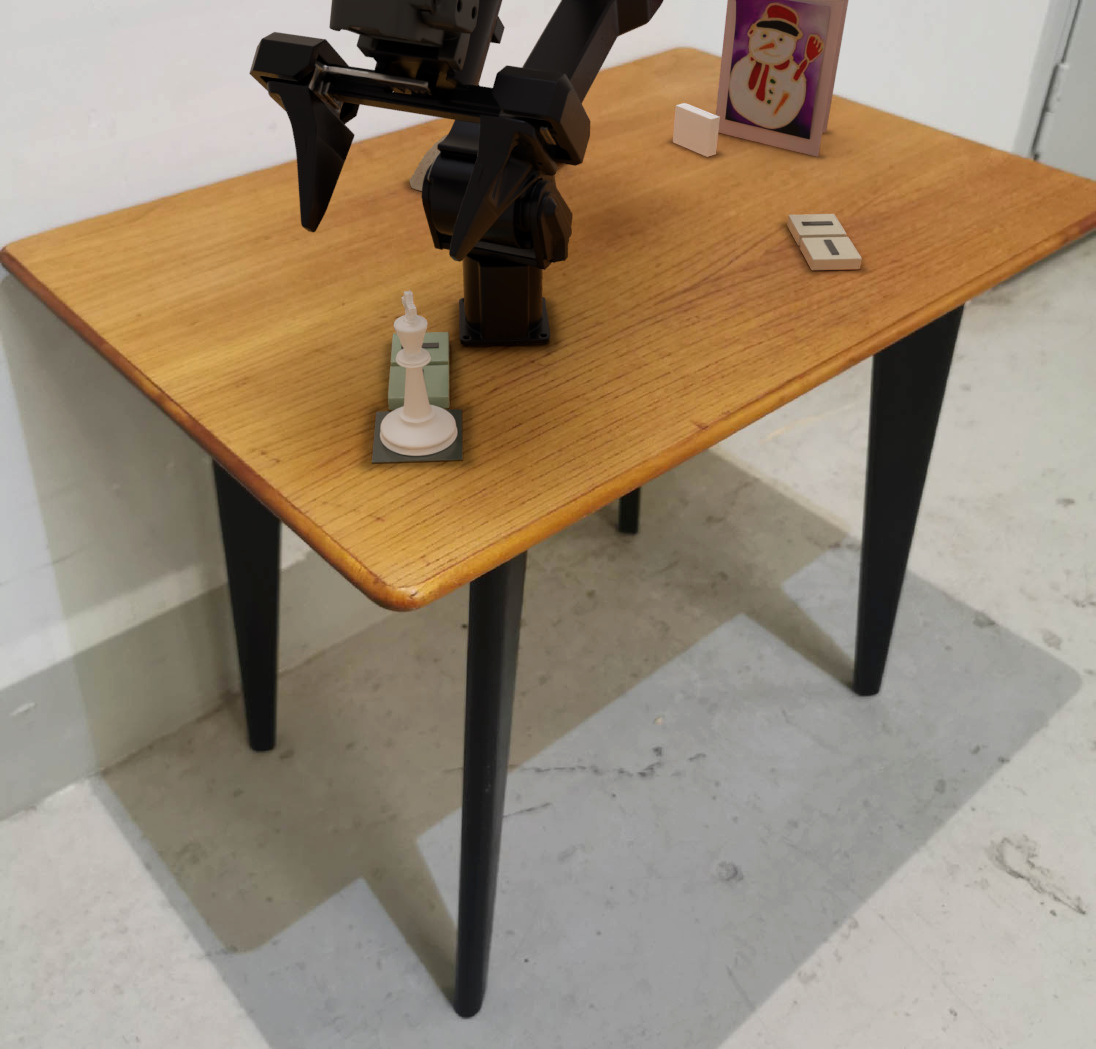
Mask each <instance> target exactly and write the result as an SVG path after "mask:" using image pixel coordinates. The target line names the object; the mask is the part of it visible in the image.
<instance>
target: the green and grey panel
mask: <svg viewBox="0 0 1096 1049" xmlns="http://www.w3.org/2000/svg"><path fill="white" fill-rule="evenodd" d="M421 348H423V349H426V350H427V351H428V352H429V354H430V356H431V360H430V362H429V363H428V364H427V365H425V366H423V367H422V370H423V376H424V382H425V387H426V391H427V396H428V400H429V404H430V405H434V406H438V407H440V408H443V409H445V410H446V411H448V412H449V413H450V414H451V415H452V416H453V417H454V419H455V422H456V427H457V437H456V439H455V441H454V442H453V443H452V444H451V445H450V446H449V447H447V448H446V449H444V450H442V451H440V452H437V453H434V454H430V455H424V456H408V455H402V454H399V453H396V452H393V451H391V450H390V449H388V448H387V447H386V446H384V444H383V443H382V441H381V439H380V431H381V430H380V427H381V423H382V421H383V419H384V418H385V416H386V415H388V414H389V413H390V412H392V411H393V410H395V409H397V408H400V407H403V406H404V397H405V381H406V368H405V367H402V366H400V365H398V364H397V362H396V355H397V353H398V352H399V351H400V350H402V349H404V348H403V346H402V344H401V342H400V339H399V337H398V335H397V333H396V332H393V333H392V338H391V349H390V350H391V352H390V366H389V374H388V375H389V376H388V388H387V389H388V390H387V405H388V407H387V408H388V410H389V411H388V410H387V411H376V412H375V420H374V422H375V423H374V431H373V432H374V433H373V444H372V456H371V464H388V463H389V464H390V463H419V462H420V463H421V462H422V463H423V462H424V463H425V462H452V461H453V462H455V461H456V462H457V461H464V460H463V459H464V458H463V409H462V408H454V409H451V408H450V407H451V406H450V404H451V403H450V397H451V396H450V395H451V394H450V332H449V331H429V332H428V331H426V333H425V336H424V340H423V344H422V347H421Z"/></svg>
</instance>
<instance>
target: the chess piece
mask: <svg viewBox="0 0 1096 1049" xmlns="http://www.w3.org/2000/svg"><path fill="white" fill-rule="evenodd" d="M401 304H402V305H403V307H404V314H403V315H401V316H399V317H397V318H396V319H395V320H394V322H393V328H394V331H395V333H397V335H398V337H399V339H400V342H401V344H402V346H403V348H404V349H402V350H400V351H399V352H398V353H397V355H396V362H397V364H398V365H400V366H402V367H405V368H406V381H405V397H404V406H403V407H400V408H397V409H395V410H391V411H392V412H390V413H389V414H388V415H386V416H385V418H384V419H383V421H382V423H381V427H380V430H381V431H380V439H381V441H382V443H383V444H384V446H386V447H387V448H388V449H390V450H391V451H393V452H396V453H399V454H402V455H408V456H424V455H430V454H434V453H437V452H440V451H442V450H444V449H446V448H447V447H449V446H450V445H451V444H452V443H453V442H454V441H455V439H456V437H457V427H456V422H455V419H454V417H453V416H452V415H451V414H450V413H449V412H448V411H446V410H447V409H443V408H440V407H438V406H434V405H430V404H429V400H428V396H427V391H426V387H425V382H424V376H423V370H422V367H423V366H425V365H427V364H428V363H429V362H430V360H431V356H430V354H429V352H428V351H427V350H426V349H423V348H421V347H422V344H423V340H424V336H425V333H426V332H427V330H428V320H427V319H426V318H425V317H424V316H422V315H419V314H418V312H417V311H418V309H417V307H416V305H415V303H414V293H413V292H412V290H411V289H410V290H404V291H403V295H401Z"/></svg>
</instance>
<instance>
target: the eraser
mask: <svg viewBox="0 0 1096 1049" xmlns="http://www.w3.org/2000/svg"><path fill="white" fill-rule="evenodd" d="M719 121H720V117H719V116H717V115H716V114H713V113H711V112H709V111H707V110H704V109H701V108H699V107H697V106H694V105H692V104H689V103H686V102H682V103H678V104H676V105H675V110H674V121H673V132H672V133H673V134H672V143H673V144H676V145H679V146H680V147H683V148H684V149H685V148H686V149H687V150H690V151H692V152H694V153H697V154H699V155H701V156H704V157H706V158H709V157H711V156H715V155H717V149H718V148H717V147H718V139H719V133H718V131H719Z"/></svg>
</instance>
